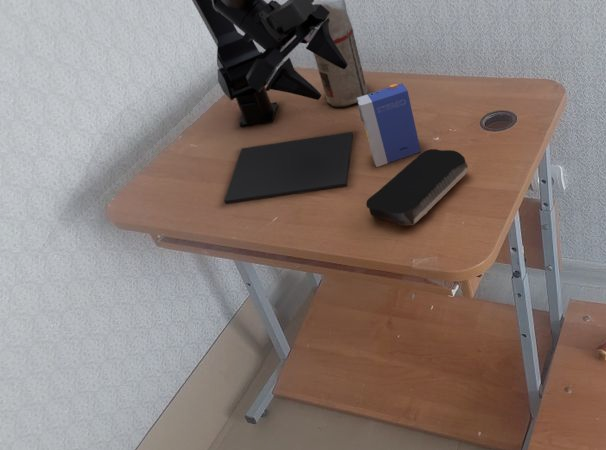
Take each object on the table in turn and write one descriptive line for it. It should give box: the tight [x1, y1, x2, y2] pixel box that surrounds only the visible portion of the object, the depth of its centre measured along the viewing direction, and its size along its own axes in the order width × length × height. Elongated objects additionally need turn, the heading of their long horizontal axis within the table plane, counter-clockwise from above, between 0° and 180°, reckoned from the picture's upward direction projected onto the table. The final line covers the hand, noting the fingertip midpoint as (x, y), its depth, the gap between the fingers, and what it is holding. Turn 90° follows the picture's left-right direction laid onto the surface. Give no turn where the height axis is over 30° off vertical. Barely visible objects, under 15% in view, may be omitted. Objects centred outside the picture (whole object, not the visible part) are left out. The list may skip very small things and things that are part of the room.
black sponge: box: [365, 148, 468, 226], centre depth 105 cm, size 16×8×4 cm, turn 143°
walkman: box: [357, 82, 422, 168], centre depth 112 cm, size 8×3×12 cm, turn 110°
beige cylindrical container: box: [312, 0, 369, 108], centre depth 127 cm, size 8×8×20 cm
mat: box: [223, 131, 354, 205], centre depth 118 cm, size 15×20×1 cm
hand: (333, 82), depth 110 cm, fingers open, 9 cm apart
